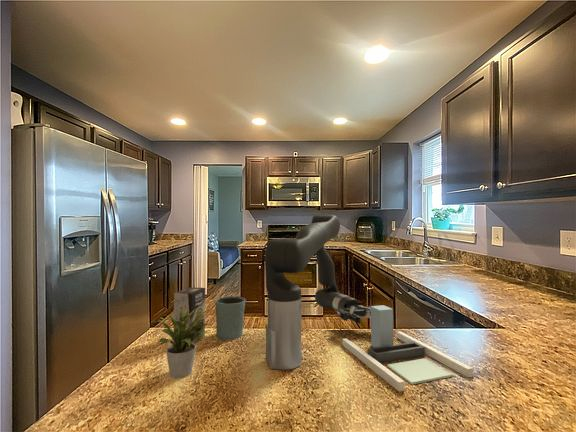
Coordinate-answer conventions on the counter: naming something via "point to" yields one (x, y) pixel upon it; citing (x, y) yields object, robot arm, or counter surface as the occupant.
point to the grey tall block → (381, 326)
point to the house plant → (181, 344)
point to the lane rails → (393, 378)
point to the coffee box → (190, 307)
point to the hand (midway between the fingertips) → (371, 319)
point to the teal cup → (229, 317)
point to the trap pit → (397, 352)
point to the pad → (419, 371)
